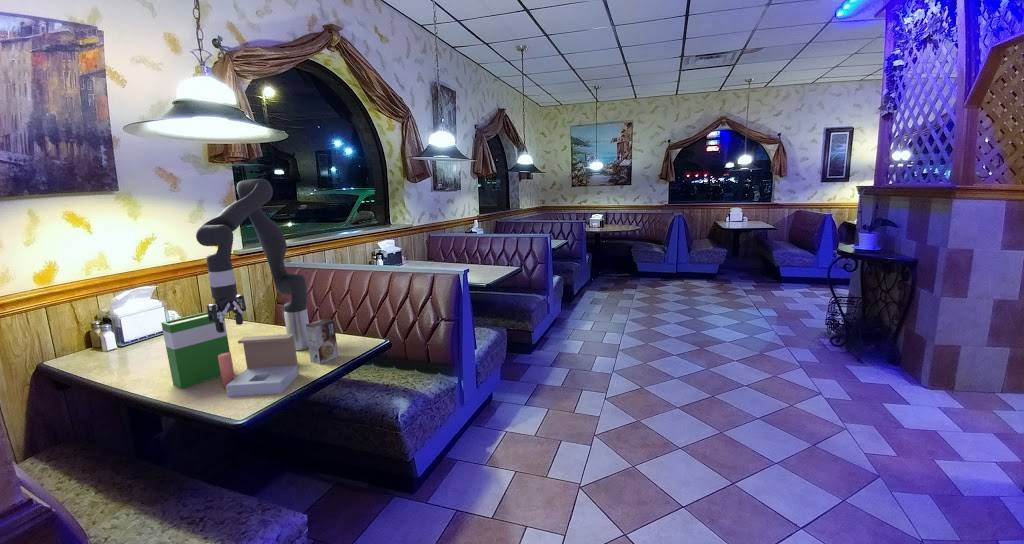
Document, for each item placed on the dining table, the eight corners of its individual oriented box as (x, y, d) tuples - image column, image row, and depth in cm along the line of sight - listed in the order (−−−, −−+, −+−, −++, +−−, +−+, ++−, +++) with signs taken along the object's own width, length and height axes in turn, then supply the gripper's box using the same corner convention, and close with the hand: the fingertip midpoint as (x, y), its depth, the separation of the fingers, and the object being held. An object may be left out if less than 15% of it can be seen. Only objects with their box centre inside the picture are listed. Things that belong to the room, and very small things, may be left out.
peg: (226, 383, 169) (221, 352, 167) (238, 383, 170) (233, 352, 167) (220, 388, 166) (215, 357, 163) (232, 387, 166) (227, 356, 163)
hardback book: (224, 368, 185) (214, 310, 180) (233, 371, 181) (223, 312, 176) (173, 384, 171) (161, 322, 166) (181, 389, 166) (169, 325, 162)
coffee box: (328, 354, 195) (324, 317, 192) (339, 357, 192) (334, 319, 189) (309, 362, 188) (304, 324, 184) (320, 364, 184) (315, 326, 181)
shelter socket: (250, 377, 175) (243, 336, 172) (299, 374, 176) (293, 334, 173) (227, 396, 159) (220, 352, 156) (281, 393, 160) (275, 349, 157)
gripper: (229, 278, 166) (236, 321, 169) (196, 288, 152) (204, 334, 156) (247, 278, 165) (254, 322, 168) (216, 288, 151) (224, 335, 154)
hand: (230, 328), depth 162 cm, fingers open, 8 cm apart
